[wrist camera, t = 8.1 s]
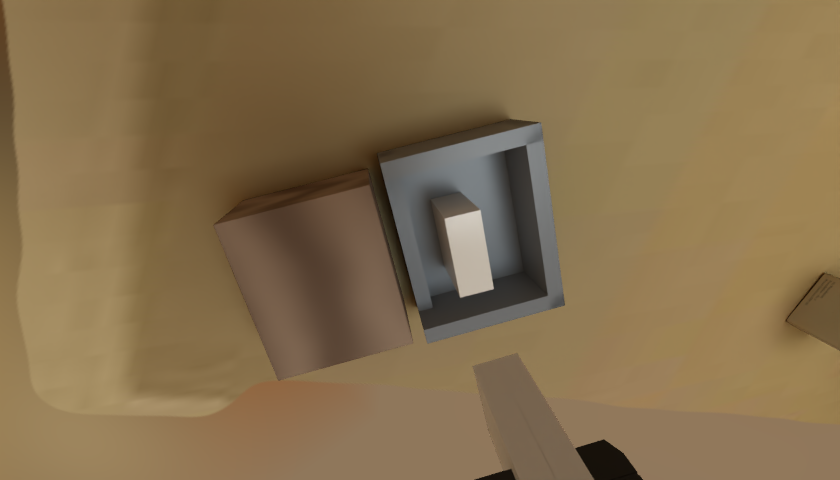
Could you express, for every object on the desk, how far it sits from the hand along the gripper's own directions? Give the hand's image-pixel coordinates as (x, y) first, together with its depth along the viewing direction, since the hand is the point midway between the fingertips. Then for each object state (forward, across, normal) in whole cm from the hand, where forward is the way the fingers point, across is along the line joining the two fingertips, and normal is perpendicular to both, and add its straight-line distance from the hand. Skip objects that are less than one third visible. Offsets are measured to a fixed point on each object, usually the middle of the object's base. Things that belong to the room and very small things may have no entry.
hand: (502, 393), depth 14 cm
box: (+23, +4, -1) cm, 23 cm away
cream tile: (+19, +1, -2) cm, 19 cm away
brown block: (+22, -8, -1) cm, 24 cm away
